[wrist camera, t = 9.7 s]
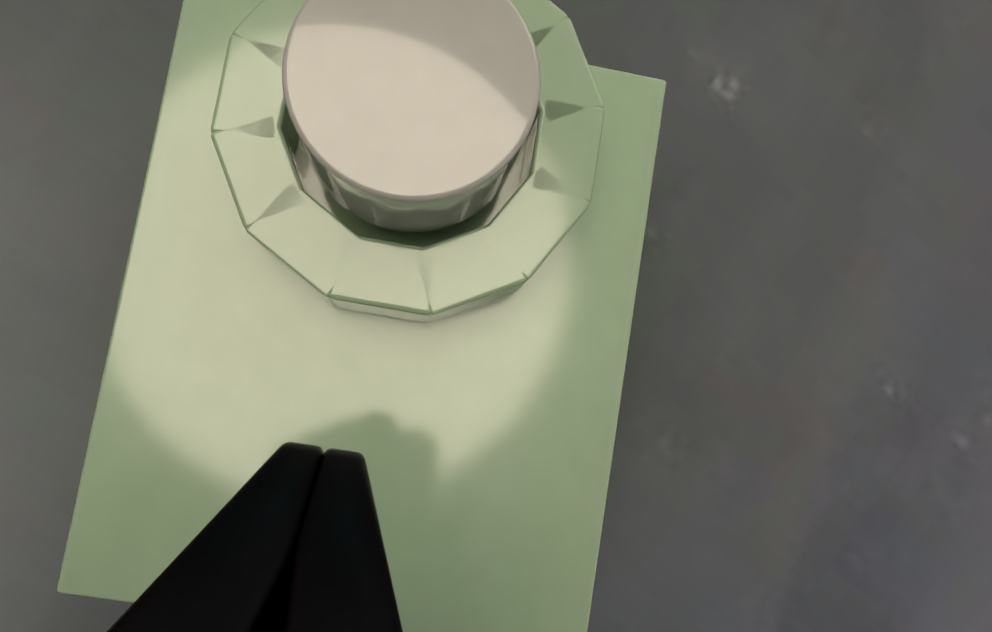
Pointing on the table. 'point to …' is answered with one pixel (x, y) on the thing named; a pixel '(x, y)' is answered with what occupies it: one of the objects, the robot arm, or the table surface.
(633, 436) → the table surface
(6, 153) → the table surface
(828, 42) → the table surface
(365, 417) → the push button box
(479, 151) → the grey short cylinder
